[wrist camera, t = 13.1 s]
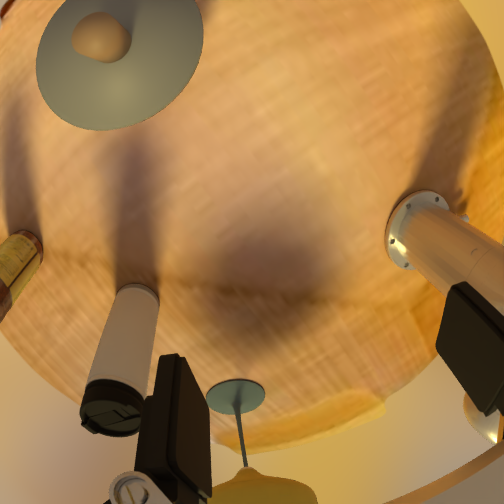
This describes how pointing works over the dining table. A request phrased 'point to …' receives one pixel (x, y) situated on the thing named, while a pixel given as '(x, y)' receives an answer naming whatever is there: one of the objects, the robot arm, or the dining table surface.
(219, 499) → the cocktail glass
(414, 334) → the dining table surface
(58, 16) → the lid
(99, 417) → the travel mug
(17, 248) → the sauce bottle
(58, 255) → the dining table surface
